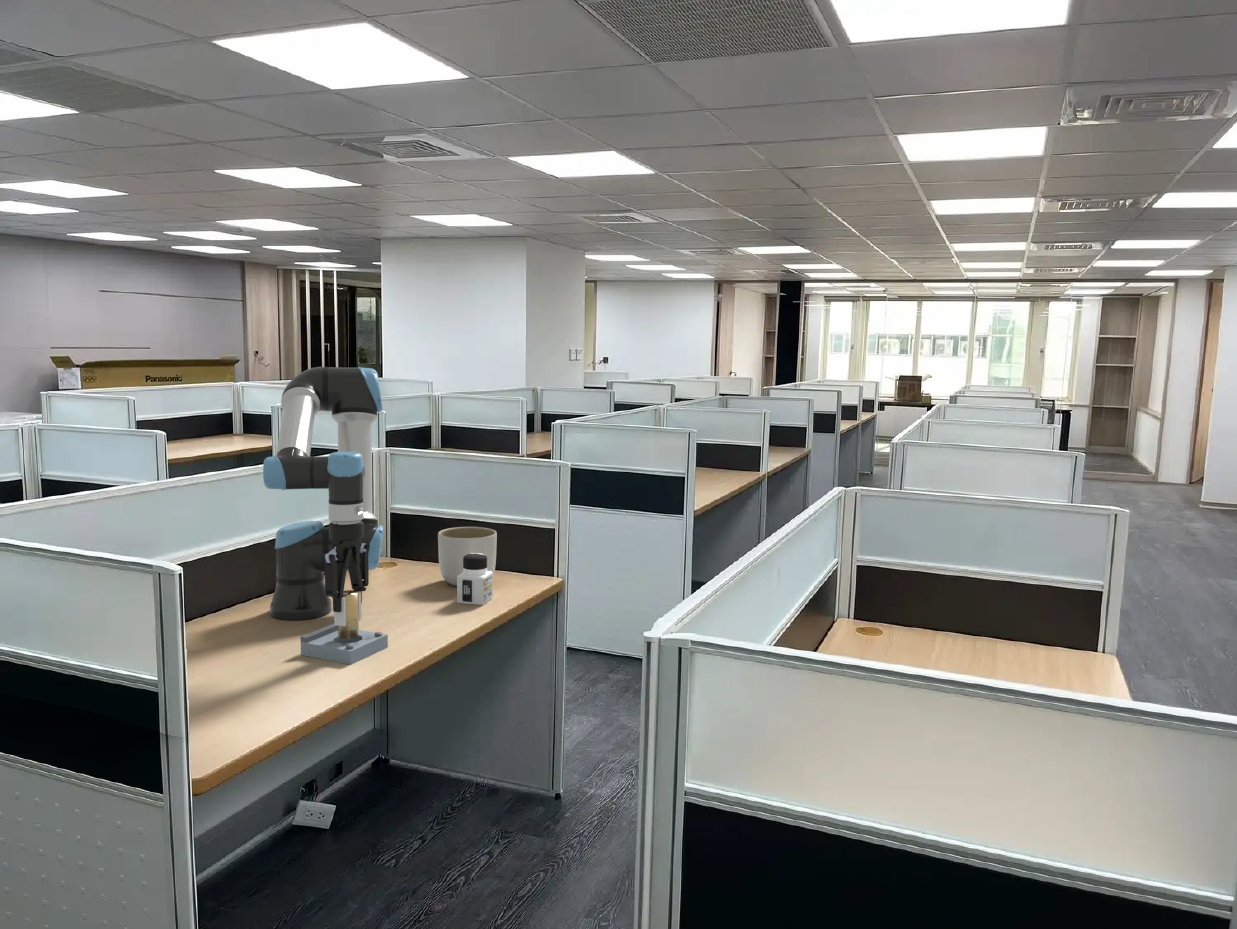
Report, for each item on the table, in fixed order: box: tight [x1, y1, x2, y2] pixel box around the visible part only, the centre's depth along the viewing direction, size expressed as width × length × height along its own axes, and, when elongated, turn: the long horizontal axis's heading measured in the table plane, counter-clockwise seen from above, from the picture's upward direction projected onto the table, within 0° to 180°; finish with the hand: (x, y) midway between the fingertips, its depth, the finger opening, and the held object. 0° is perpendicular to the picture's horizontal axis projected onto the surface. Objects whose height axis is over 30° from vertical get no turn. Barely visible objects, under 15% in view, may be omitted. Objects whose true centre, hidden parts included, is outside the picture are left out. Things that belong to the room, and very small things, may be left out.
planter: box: [437, 526, 498, 587], centre depth 272 cm, size 17×17×15 cm
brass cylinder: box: [338, 589, 360, 639], centre depth 210 cm, size 5×5×10 cm
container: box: [456, 553, 494, 606], centre depth 253 cm, size 8×8×13 cm
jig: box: [300, 623, 389, 665], centre depth 211 cm, size 14×13×4 cm
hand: (348, 621), depth 210 cm, fingers closed on brass cylinder, 4 cm apart
